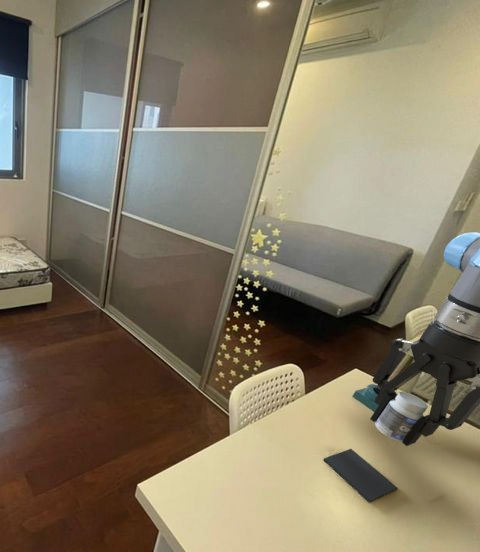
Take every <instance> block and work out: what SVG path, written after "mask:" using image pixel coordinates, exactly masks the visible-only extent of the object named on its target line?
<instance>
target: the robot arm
mask: <svg viewBox="0 0 480 552" xmlns="http://www.w3.org/2000/svg"><path fill="white" fill-rule="evenodd" d="M443 260H444V261H445V263H446V264H448V265H449V266H450V267H452V268H455V270H456V269H457V270H459V271H460V272H461V275H460V276H459V278H458V280H457V281H456V283H455V284H454V286H453V288H452V289H451V290H450V292H449V293H448V295H447V297H446V298H445V299H444V301H443V303H442V304H441V306H440V307H439V309H438V310H437V312H436V313H435V315H434V319H435V320H431V321H430V322H429V324H427V327H426V328H425V330H424V331H423V333H422V334H421V336H420V337H419V339H418V340H415V341H409V340H406V339H404V338H397V339H393V340H390V349H389V352H388V353H387V355H386V357H385V358H384V360H383V361H382V362H381V365H380V366H379V368H378V369H377V371H376V373H374V375H373V377H372V382H373V384H374V385H379V387H380V388H381V391H380V392H379V394H378V395H377V397H376V399H375V403H376V404H378V405H379V406H378V407H377V409H376V410H375V412H374V411H373V413H372V415H371V416H370V418H369V420H370V421H372V422H373V423H376V421H377V419H378V418H379V416H380V415H381V413H382V412H383V410H384V409H385V408H386V406H387V405H388V403H389V402H390V401H391V400H392V399H395V398H396V396H397V395H398V394H399V393H397V392H396V391H398V390H399V388H401V387H402V386H404V385H405V384H407V383H408V382H409V381H411V380H412V379H413V378H415V377H416V376H418V375H419V374H420V373H424V374H427V375H430V376H431V377H432V378H434V379H435V380H436V381H435V386H436V387H435V390H434V396H433V399H432V402H431V407H430V410H429V413H428V414H426V415H424V417H421V418H420V419H419V421H418V422H417V423H416V425H415V426H414V427H413V429H412V430H411V431H410V433H409V434H408V435H407V437H406V438H405V439H404V441H403V442H401V443H402V444H403V445H404V446H406V447H408V446H411V445H413V444H415V443H417V441H419V439H420V438H421V436H423V437H425V438H427V437H429V436H432V435H434V433H435V432H436V431H437V430H438V428H439V427H440V426H441V427H444V428H445V429H446V430H448V431H453V430H456V429H458V428H461V426H462V425H463V424H464V423H465V422H466V421H467V419H468V418H469V417H470V416H471V415H472V414H473V412H474V411H475V410H476V409H477V408H478V406H479V405H480V232H475V231H470V232H466V233H462V234H459V235H457V236H456V237H454V238H453V239H451V240H450V241H449V242H448V243H447V245H446V246H445V249H444V252H443ZM410 349H411V353H412V357H413V362H412V363H410V364H409V365H408V366H407V367H406V368H405V369H404V370H402V371H401V372H400V373H398V374H397V375H395V376H394V377H393V378H392V379H391V380H389V379H390V377H391V376H392V374H393V372H395V370H396V369H397V366H398V365H399V364H400V362H401V361H402V359H403V357H404V356H405V354H406V353H408V352H409V351H410ZM388 380H389V381H388ZM463 380H471V381H472V382H471V384H470V385H469V386H470V389H471V390H470V391H469V392H468V393H467V394H466V395H465V396H464V397H463V399H462V400H461V401H460V402H459V403H458V405H457V406H456V408H455V409H454V410H453V411H452V413H451V414H450V415H449V416H448V417H447V415H448V411H449V407H450V404H451V401H452V397H453V393H454V389H455V387H456V386H457V384H458V381H463ZM394 391H395V392H396V393H397V394H396V393H395V392H394ZM393 392H394V393H393Z"/></svg>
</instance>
